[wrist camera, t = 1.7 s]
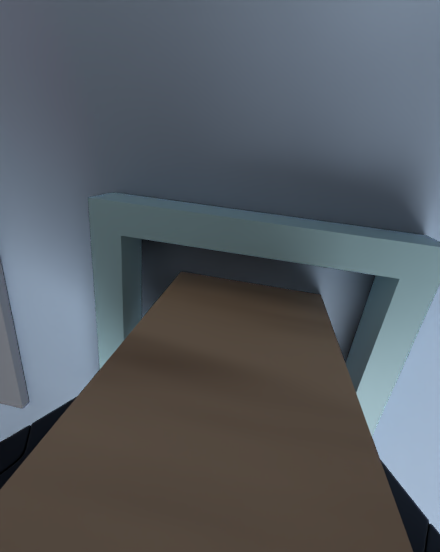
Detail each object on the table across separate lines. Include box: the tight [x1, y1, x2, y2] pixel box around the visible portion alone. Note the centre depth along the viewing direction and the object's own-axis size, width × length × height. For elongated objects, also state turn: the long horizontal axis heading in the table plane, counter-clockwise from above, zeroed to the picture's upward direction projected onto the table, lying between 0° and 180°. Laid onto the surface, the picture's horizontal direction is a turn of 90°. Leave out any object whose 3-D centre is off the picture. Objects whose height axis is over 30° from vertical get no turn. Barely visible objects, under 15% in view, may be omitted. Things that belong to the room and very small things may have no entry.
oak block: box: [0, 271, 413, 552], centre depth 7 cm, size 5×5×9 cm
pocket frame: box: [88, 192, 440, 436], centre depth 10 cm, size 10×10×2 cm
